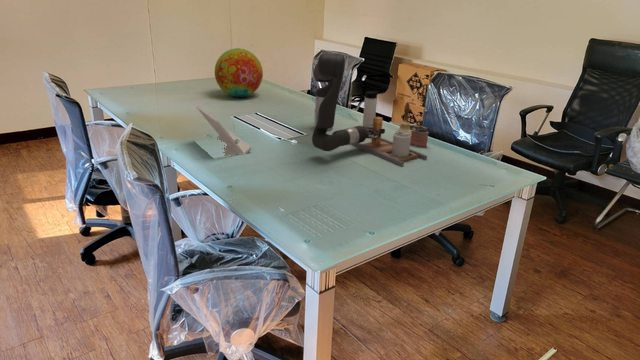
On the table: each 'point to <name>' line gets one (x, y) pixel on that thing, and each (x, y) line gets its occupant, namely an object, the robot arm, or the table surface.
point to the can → (401, 143)
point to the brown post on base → (385, 143)
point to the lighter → (419, 137)
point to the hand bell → (405, 124)
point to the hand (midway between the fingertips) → (381, 129)
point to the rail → (387, 157)
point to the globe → (238, 72)
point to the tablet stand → (226, 137)
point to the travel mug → (369, 108)
